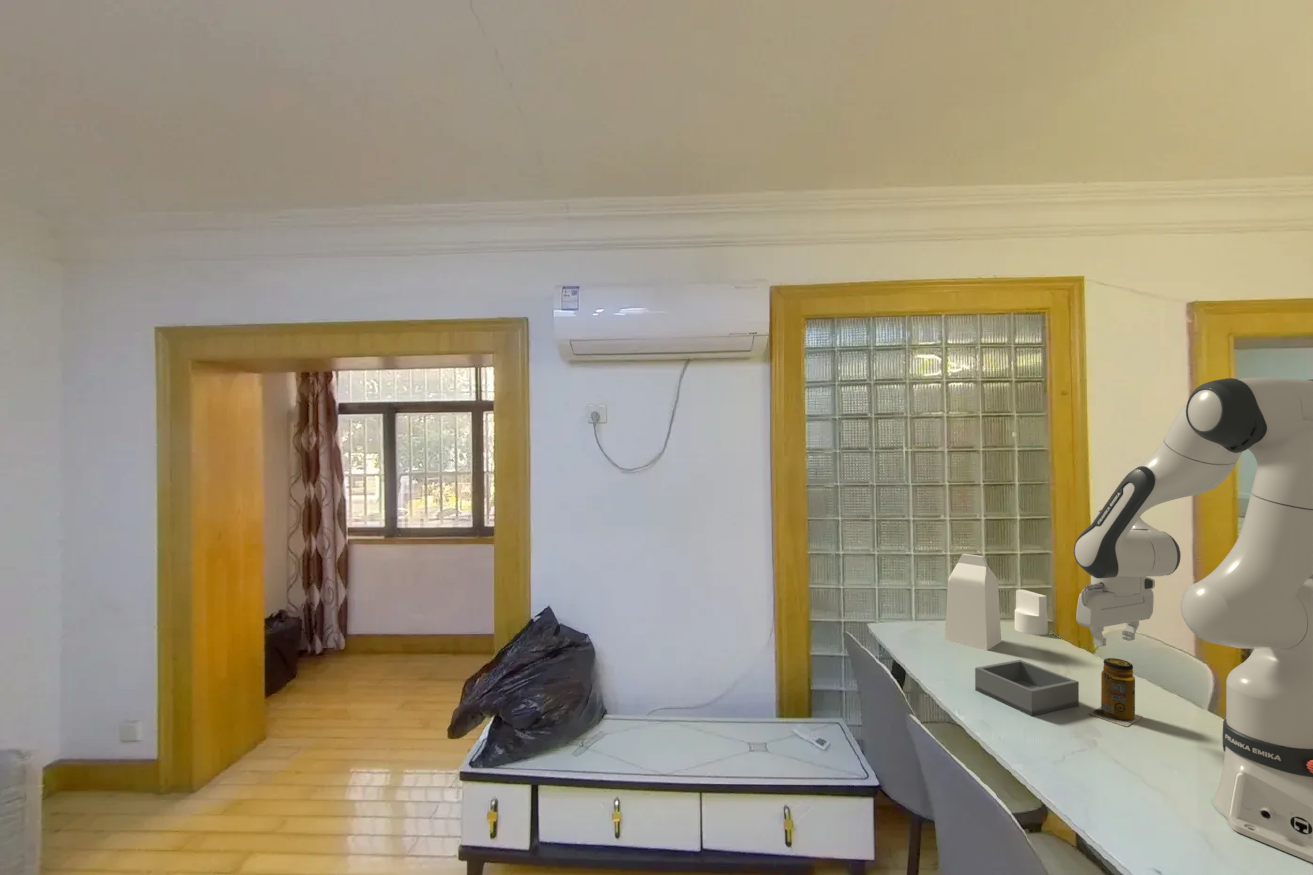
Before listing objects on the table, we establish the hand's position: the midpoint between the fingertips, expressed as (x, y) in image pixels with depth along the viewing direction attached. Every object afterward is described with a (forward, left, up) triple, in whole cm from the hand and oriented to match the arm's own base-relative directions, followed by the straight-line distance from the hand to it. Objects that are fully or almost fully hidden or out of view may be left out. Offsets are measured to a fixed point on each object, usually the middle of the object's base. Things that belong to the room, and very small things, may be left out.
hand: (1114, 642), depth 138 cm
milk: (+49, -12, -16) cm, 53 cm away
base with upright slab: (+49, -37, -16) cm, 64 cm away
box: (+14, +10, -16) cm, 23 cm away
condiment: (0, 0, -16) cm, 16 cm away
